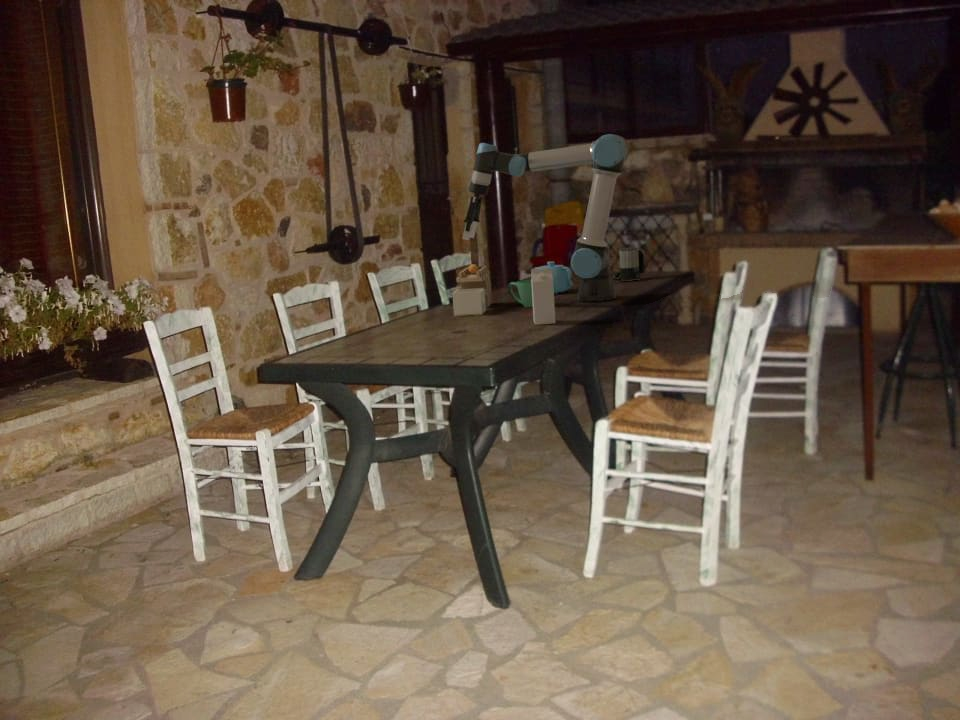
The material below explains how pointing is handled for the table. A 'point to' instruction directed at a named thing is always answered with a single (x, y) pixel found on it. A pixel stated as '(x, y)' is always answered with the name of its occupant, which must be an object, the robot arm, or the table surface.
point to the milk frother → (630, 263)
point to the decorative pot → (559, 277)
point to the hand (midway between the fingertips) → (468, 238)
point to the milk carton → (543, 296)
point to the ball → (473, 269)
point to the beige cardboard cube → (469, 302)
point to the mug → (522, 292)
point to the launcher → (476, 282)
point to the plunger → (474, 251)
